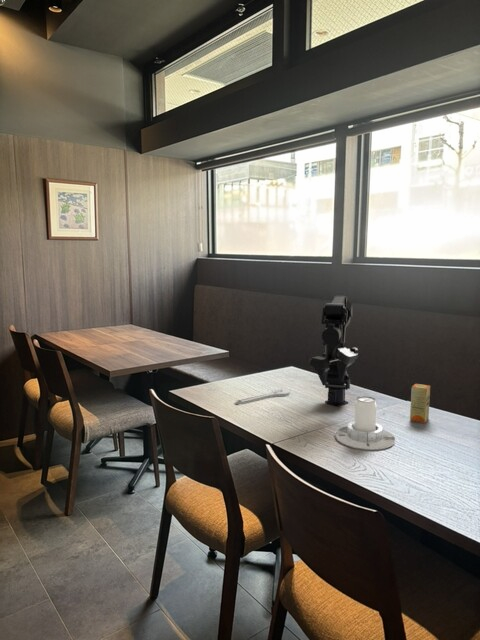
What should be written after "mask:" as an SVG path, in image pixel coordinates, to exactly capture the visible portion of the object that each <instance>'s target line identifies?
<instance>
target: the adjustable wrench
mask: <svg viewBox="0 0 480 640" xmlns="http://www.w3.org/2000/svg"><path fill="white" fill-rule="evenodd" d="M290 392H291V391H290V390H287V391H283V388H280V389H279V388H277V389H272V390H271V391H270V392H269V393H263V394H259V395H255V396H254V395H253V396H251V397H246V398H241V399H237V400H235V405H237V404H241V405H245V404H251V403H254V402H258V401H261V400H267V399H270V398H279V397H281V398H282V397H288V396H290V394H291V393H290Z"/></svg>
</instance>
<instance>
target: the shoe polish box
mask: <svg viewBox="0 0 480 640" xmlns="http://www.w3.org/2000/svg"><path fill="white" fill-rule="evenodd" d="M430 398H431V385H429V384H420V383H415V384H413V385H412V386H411V393H410V412H409V414H410V415H409V421H410V420H412V421H411V422H415V421H417V422H416V423H420V422H422V424H426V423H427V421H428V420H429V417H430V414H429V413H430V402H431V401H430ZM425 422H426V423H425Z"/></svg>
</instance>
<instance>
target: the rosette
mask: <svg viewBox="0 0 480 640" xmlns="http://www.w3.org/2000/svg"><path fill="white" fill-rule="evenodd" d="M354 421H355V420H354ZM354 421H351V422H348V424H347V426H343V427H341V428H338V429H337V430H336V431H335V433H334V436H335V440H336V441H337V442H338V443H340V444H341V445H343V446H346V447H347V448H352V449H354V450H355V449H356V450H360V451H383V450H387V449H390V448H392V447H393V446H394V445H395V443H396V442H395V441H396V439H395V438H396V437H395V436H394V435H393V434H392V433H391V432H390V431H388V430H385V429H383V426H382V425H381V424H379V423H377V422H376V431H372V432H365V431H359V430H356V429H354Z"/></svg>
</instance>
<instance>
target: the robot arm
mask: <svg viewBox="0 0 480 640" xmlns="http://www.w3.org/2000/svg"><path fill="white" fill-rule="evenodd" d="M321 315H322V317H321V322H320V323H321V325H325V329H324V330H323V331H322V333H321V339H322V341H323V342H322V345H323V346H325V350H324V351H325V352H323V353H322V356H319V355H317V356H312V357H311V358H310V359H309V366H310V367H311V368H313V369H314V370H315V372H316V374H317V376H318V378H319V380H320V383H321V385H322V386H324V388H325V389H328V390H327V391H328V392H327V400H325V401H324V403H326V404H329V405H333V406H335V407H339V406H340V407H341V406H342V405H346V404H347V405H348V404H349V401H347V400H346V391H348V390H349V389H350V388H351V377H350V376H349V374H348V368H349V366H351V365H352V364H354V363H355V362H356V361H357V359H358V358H359V349H358V347H352V348H347V347H346V343H345V342H346V331H347V330H346V328H348V326H349V325H350V323H351V318H353V303H352V302H350V301H349V300H348V296H346V295H335V296H333V297H332V301H331V302H327V303H325V306H323V308H322V313H321Z"/></svg>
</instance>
